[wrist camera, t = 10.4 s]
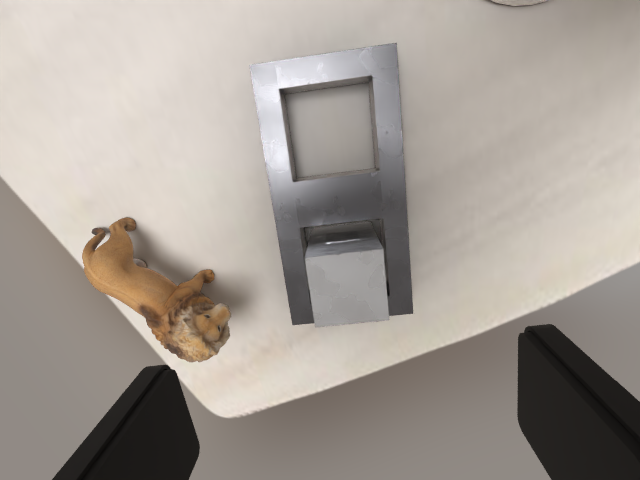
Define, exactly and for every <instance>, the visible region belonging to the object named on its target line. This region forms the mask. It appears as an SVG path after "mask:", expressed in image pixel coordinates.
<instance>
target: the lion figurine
mask: <svg viewBox="0 0 640 480" xmlns="http://www.w3.org/2000/svg"><path fill="white" fill-rule="evenodd" d="M135 226H136V224H135V221H134V220H133V219H131V218H122V219H120V220H118V221H116V222H115V223H113V224H112V225H111V226H110V227H109V230H110V232H111V235H110V238H109V240H108V241H107V242H105V243H104V244H102V245H101V246H100V247H98V248H97V249H96V247H97V246H98V244H99V243H100V242H101V241H102V240H103V238H104V237H105V235H106V234H105V232H104V231H103V230H102V229H101V228H94V229H93V230H92V234H94V235H96V236H94V237H93V238H92V239H91V240H90V241H89V242H88V243H87V244H86V246H85V248H84V250H83V254H82V259H83V263H84V266H85V267H84V272H85V274H86V276H87V278H88V280H89V281H90V282H91V284H92V285H93V286H94V287H95V288H96V289H97V290H99V291H100V292H103V293H105V294H107V295H110V296H112V297H114V298H116V299H118V300H120V301H121V302H123V303H125V304H126V305H128V306H129V307H131V308H132V309H133V310H135V311H136V312H137V313H139V314H141V315H142V316H144V317H145V318H146V322H147V325H148V327H150V328H151V329H152V333H153V334H154V335H155V336H156V339H157V340H159V341H161V345H163V346H164V348H165V349H169V351H170V352H171V353H174V354H176V355H177V356H178V358H180V359H184V360H186V361H189V362H195V361H198V362H202V361H203V360H207V359H209V358H211V357H212V356H213V355H217V354H218V352H219V349H220V348H221V347H222V346H223V345H224V344H225V343H226V341H227V340H228V339H229V337H230V333H229V327H228V322H227V321H228V320H229V319H230V318H231V312H230V311H229V307H228V306H227V305H226V304H223V303H219V304H217V305H216V306H215V305H214V303H213V302H212V301H211V300H210V299H209V298H208V297H207V298H206V297H205V296H204V295H203V294H201V293H200V291H201V288H202V285H203V283H210V282H211V281H213V280H214V274H213V272H212V270H203V271H200V272H199V273H198V274H196V275H195V276H194V278H193V279H191V280H189V281H187V282H184V283H181V284H179V286H177V285H175V284H174V283H173V282H172V281H170V280H169V279H168V278H166V277H165V276H163V275H161V274H159V273H157V272H155V271H153V270H151V269H148V268H147V266H146V263H145V262H143V261H142V260H140V259H134V258H133V244H132V241H131V239H130V237H129V235H128V234H127V232H131V231H133V230H135ZM126 231H127V232H126ZM95 249H96V250H95Z"/></svg>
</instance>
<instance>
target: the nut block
mask: <svg viewBox="0 0 640 480" xmlns="http://www.w3.org/2000/svg"><path fill="white" fill-rule="evenodd" d="M305 263H306V270H307V276H308V283H309V290H310V296H311V303H312V310H313V316H314V323H315V327H324V326H334V325H344V324H354V323H364V322H375V321H385V320H389V311H388V299H387V288H386V276H385V264H384V253H383V248H382V245H381V243H380V241H379V239H378V237H377V235H376V232H375V230H374V228H373V226H372V224H371V222H370V221H366V222H357V223H349V224H341V225H332V226H324V227H315V228H312V230H311V234H310V238H309V242H308V246H307V251H306V255H305Z"/></svg>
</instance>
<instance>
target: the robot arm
mask: <svg viewBox="0 0 640 480" xmlns="http://www.w3.org/2000/svg"><path fill="white" fill-rule="evenodd" d="M491 1H494V2H496V3H500V4H506V5H512V6H520V5H533V4H537V3H541V2H544V1H548V0H491ZM518 422H519V425H520V428H521V430H522V432H523V434H524V436H525V437H526V439H527V441H528V442H529V444H530V445H531V447H532V449H533V450H534V452H535V454H536V455H537V457H538V458H539V460H540V462H541V463H542V465H543V466H544V468H545V470H546V471H547V473H548V475H549V476H550V478H551V479H552V480H640V402H639V401H638V400H637V399H636V398H635V397H634V396H632V395H631V394H630V393H629V392H628V391H627V390H626V389H625V388H624V387H622V386H621V385H620V384H619V383H618V382H617V381H615V380H614V379H613V378H612V377H611V376H610V375H609V374H607V373H606V372H605V371H604V370H603V369H602V368H601V367H600V366H599V365H597V364H596V363H595V362H594V361H593V360H592V359H591V358H590V357H589V356H587V355H586V354H585V353H584V352H583V351H582V350H581V349H580V348H578V347H577V346H576V345H575V344H574V343H573V342H572V341H571V340H570V339H569V338H567V337H566V336H565V335H564V334H563V333H562V332H561V331H560V330H558V329H557V328H556V327H555V326H554V325H552V324H547V325H537V326H528V327H526V328H525V331H524V333H520V335H519V337H518ZM199 449H200V446H199V441H198V438H197V435H196V432H195V429H194V425H193V422H192V419H191V416H190V413H189V410H188V407H187V404H186V401H185V398H184V395H183V392H182V389H181V386H180V382H179V379H178V376H177V373H176V371H175V370H173V369H170V367H169V366H168V365H158V366H149V367H145V368H144V369H143V370H142V371H141V372H140V373H139V375H138V376H137V377H136V378H135V379H134V381H133V382H132V383H131V384H130V385H129V387H128V388H127V389H126V390H125V392H124V393H123V394H122V395H121V396H120V398H119V399H118V400H117V401H116V403H115V404H114V405H113V406H112V407H111V409H110V410H109V411H108V412H107V413H106V415H105V416H104V417H103V418H102V420H101V421H100V422H99V423H98V424H97V426H96V427H95V428H94V429H93V430H92V432H91V433H90V434H89V435H88V437H87V438H86V439H85V440H84V441H83V443H82V444H81V445H80V446H79V447H78V449H77V450H76V451H75V452H74V454H73V455H72V456H71V457H70V458H69V460H68V461H67V462H66V463H65V464H64V466H63V467H62V468H61V470H60V471H59V472H58V473H57V474H56V476H55V477H54V478H53V479H52V480H189V477H190V475H191V473H192V470H193V468H194V466H195V463H196V461H197V459H198V456H199Z"/></svg>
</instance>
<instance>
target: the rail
mask: <svg viewBox="0 0 640 480" xmlns="http://www.w3.org/2000/svg"><path fill="white" fill-rule="evenodd" d="M249 66H250V72H251V78H252V84H253V90H254V96H255V102H256V108H257V114H258V120H259V126H260V132H261V138H262V144H263V150H264V156H265V162H266V168H267V174H268V180H269V186H270V192H271V198H272V204H273V210H274V216H275V222H276V228H277V234H278V240H279V246H280V252H281V259H282V265H283V271H284V277H285V283H286V289H287V295H288V301H289V307H290V313H291V319H292V325H299V324H310V323H314V316H313V310H312V303H311V296H310V290H309V283H308V276H307V270H306V263H305V255H306V251H307V247H306V240H305V234H304V227H310V226H318V225H327V224H336V223H344V222H353V221H362V220H370V219H379V218H380V230H381V242H382V248H383V253H384V264H385V276H386V288H387V299H388V311H389V316H393V315H403V314H413V303H412V287H411V270H410V254H409V237H408V221H407V205H406V188H405V172H404V156H403V139H402V123H401V107H400V90H399V74H398V57H397V43H392V44H385V45H378V46H372V47H365V48H358V49H352V50H345V51H338V52H332V53H325V54H318V55H312V56H305V57H298V58H292V59H285V60H279V61H272V62H265V63H259V64H252V65H249ZM366 82H368V86H369V98H370V110H371V122H372V134H373V146H374V158H375V168H373V169H365V170H357V171H349V172H341V173H333V174H325V175H317V176H310V177H302V178H296V171H295V164H294V157H293V150H292V143H291V136H290V129H289V123H288V116H287V109H286V102H285V95H284V94H289V93H296V92H303V91H310V90H317V89H324V88H331V87H338V86H345V85H352V84H359V83H366Z"/></svg>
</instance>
